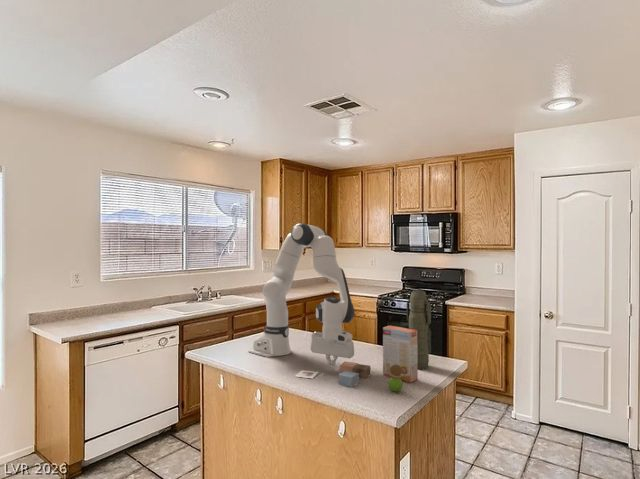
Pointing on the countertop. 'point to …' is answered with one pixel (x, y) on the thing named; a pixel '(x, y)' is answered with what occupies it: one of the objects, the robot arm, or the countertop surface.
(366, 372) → the base block
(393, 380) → the snail figurine
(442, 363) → the countertop surface
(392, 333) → the cracker box
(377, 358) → the countertop surface
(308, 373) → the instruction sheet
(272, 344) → the robot arm
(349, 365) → the terracotta block
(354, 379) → the slate block
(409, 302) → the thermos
